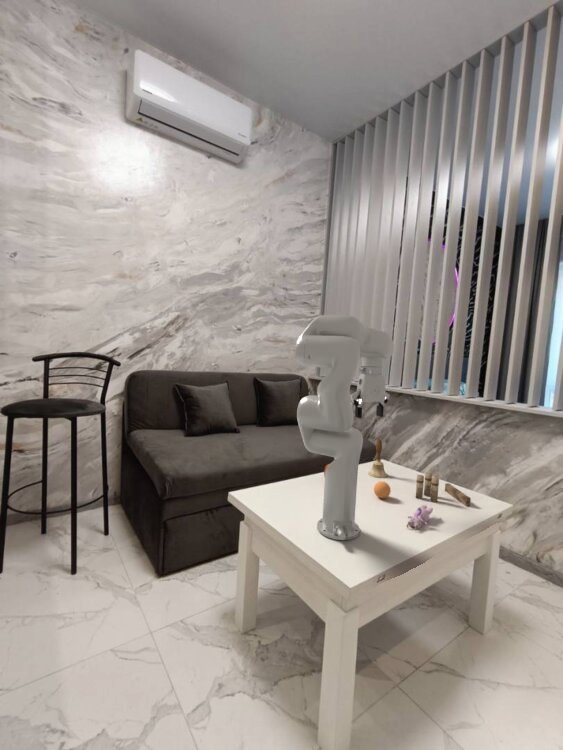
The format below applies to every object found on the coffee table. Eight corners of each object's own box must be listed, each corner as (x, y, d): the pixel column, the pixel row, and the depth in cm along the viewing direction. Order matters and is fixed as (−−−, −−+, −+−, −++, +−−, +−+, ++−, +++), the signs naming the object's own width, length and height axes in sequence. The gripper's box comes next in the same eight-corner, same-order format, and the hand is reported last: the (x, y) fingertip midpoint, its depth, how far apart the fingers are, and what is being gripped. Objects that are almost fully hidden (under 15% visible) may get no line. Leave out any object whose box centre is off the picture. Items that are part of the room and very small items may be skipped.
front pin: (423, 499, 132) (425, 477, 131) (417, 499, 132) (418, 477, 131) (420, 496, 134) (422, 474, 134) (414, 496, 134) (415, 474, 134)
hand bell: (378, 479, 151) (380, 442, 150) (364, 473, 158) (366, 438, 157) (391, 476, 155) (393, 440, 154) (377, 470, 162) (379, 436, 161)
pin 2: (438, 502, 130) (440, 479, 129) (432, 502, 130) (434, 479, 129) (435, 499, 132) (436, 477, 132) (428, 499, 132) (430, 477, 132)
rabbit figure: (421, 538, 107) (438, 514, 117) (421, 520, 105) (439, 498, 116) (401, 530, 111) (419, 508, 122) (401, 513, 110) (420, 492, 120)
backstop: (470, 506, 128) (470, 498, 127) (466, 506, 127) (466, 498, 127) (448, 490, 141) (449, 483, 141) (444, 490, 141) (445, 483, 141)
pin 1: (431, 496, 135) (433, 474, 134) (425, 496, 135) (427, 474, 134) (428, 493, 137) (430, 472, 137) (422, 493, 137) (424, 472, 137)
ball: (392, 501, 129) (393, 485, 129) (376, 500, 129) (377, 484, 128) (386, 494, 135) (387, 479, 135) (371, 494, 134) (372, 478, 134)
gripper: (358, 372, 124) (355, 420, 125) (397, 372, 130) (394, 417, 132) (346, 370, 130) (343, 416, 132) (383, 370, 137) (381, 414, 139)
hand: (369, 416), depth 132 cm, fingers open, 9 cm apart
